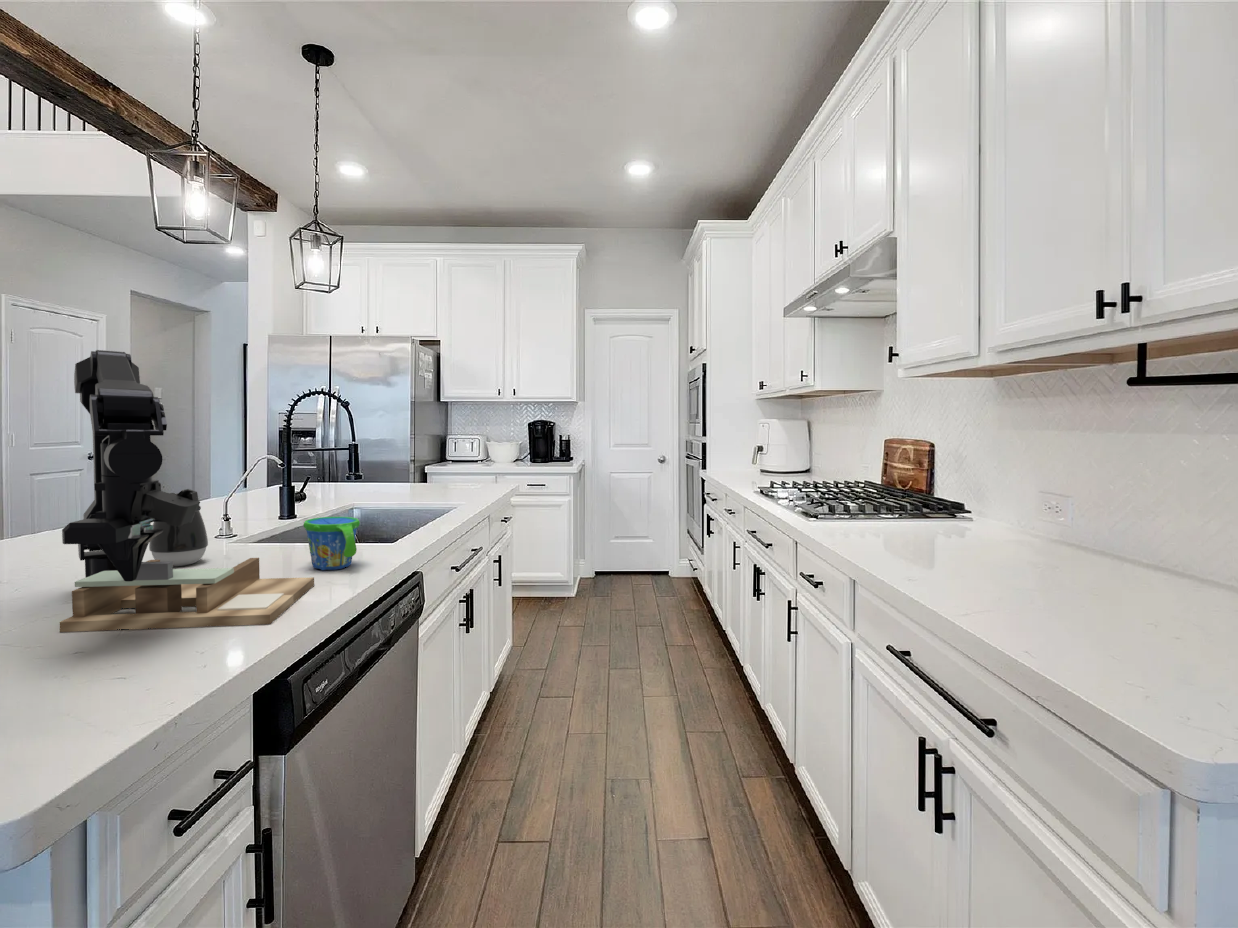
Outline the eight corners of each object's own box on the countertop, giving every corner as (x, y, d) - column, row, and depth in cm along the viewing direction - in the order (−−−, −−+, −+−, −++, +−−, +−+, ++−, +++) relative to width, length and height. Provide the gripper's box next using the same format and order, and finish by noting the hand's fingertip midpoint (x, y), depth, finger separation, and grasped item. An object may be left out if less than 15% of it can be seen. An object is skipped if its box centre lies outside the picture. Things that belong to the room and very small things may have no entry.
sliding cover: (74, 587, 92) (73, 565, 92) (104, 575, 99) (103, 555, 99) (214, 583, 96) (214, 562, 96) (233, 572, 103) (233, 553, 102)
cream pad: (217, 610, 96) (217, 608, 96) (238, 596, 104) (238, 594, 103) (266, 609, 97) (266, 607, 97) (283, 595, 105) (283, 593, 105)
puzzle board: (59, 632, 89) (58, 594, 89) (148, 589, 112) (147, 559, 111) (270, 624, 94) (269, 588, 94) (314, 585, 117) (313, 556, 117)
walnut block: (135, 620, 95) (135, 588, 95) (151, 611, 100) (150, 581, 99) (167, 619, 96) (166, 587, 96) (181, 610, 100) (181, 580, 100)
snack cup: (372, 569, 130) (372, 522, 129) (320, 577, 122) (320, 527, 122) (342, 557, 141) (342, 513, 140) (293, 564, 133) (292, 517, 133)
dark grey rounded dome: (144, 571, 124) (142, 497, 123) (155, 561, 134) (153, 491, 133) (204, 567, 129) (203, 495, 128) (211, 557, 138) (209, 490, 137)
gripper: (154, 481, 81) (157, 597, 82) (217, 470, 100) (219, 564, 101) (57, 481, 79) (61, 599, 80) (140, 469, 98) (142, 566, 99)
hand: (130, 580), depth 90 cm, fingers closed
